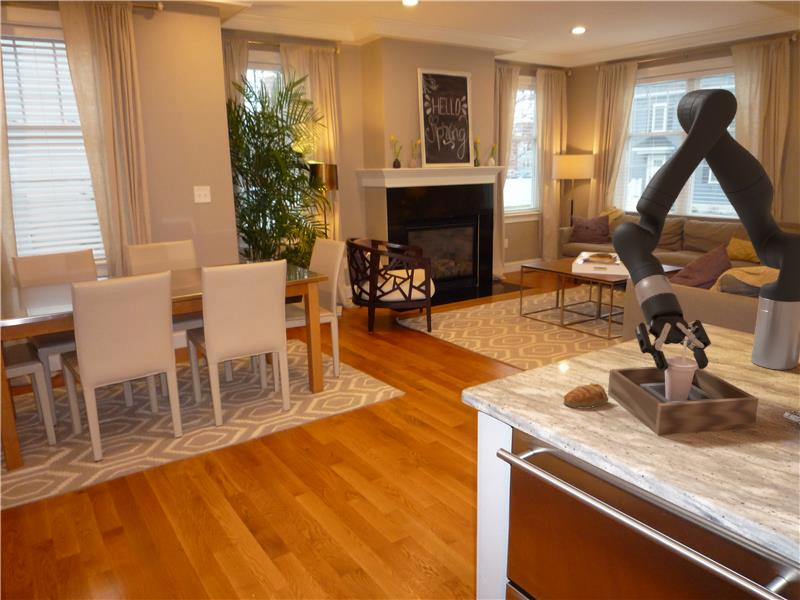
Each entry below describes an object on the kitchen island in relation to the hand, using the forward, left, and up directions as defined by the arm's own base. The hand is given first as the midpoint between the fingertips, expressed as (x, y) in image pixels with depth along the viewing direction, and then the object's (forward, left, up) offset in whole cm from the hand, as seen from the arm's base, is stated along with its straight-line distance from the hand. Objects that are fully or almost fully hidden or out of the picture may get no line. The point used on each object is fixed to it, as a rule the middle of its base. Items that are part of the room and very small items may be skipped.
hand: (684, 368), depth 117 cm
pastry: (+17, -8, -10) cm, 21 cm away
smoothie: (0, -2, -9) cm, 9 cm away
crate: (0, -1, -10) cm, 10 cm away
